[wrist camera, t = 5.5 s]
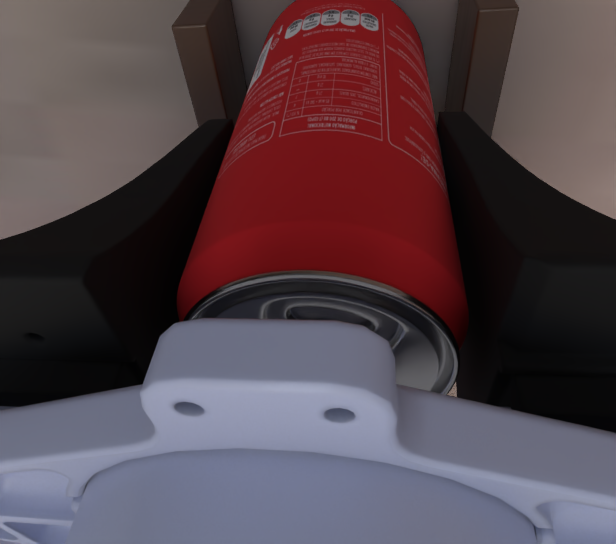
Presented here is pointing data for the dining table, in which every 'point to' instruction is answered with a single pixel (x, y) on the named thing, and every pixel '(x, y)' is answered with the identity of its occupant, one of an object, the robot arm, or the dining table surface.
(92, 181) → the dining table surface
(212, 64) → the can holder
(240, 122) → the beverage can
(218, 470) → the robot arm
